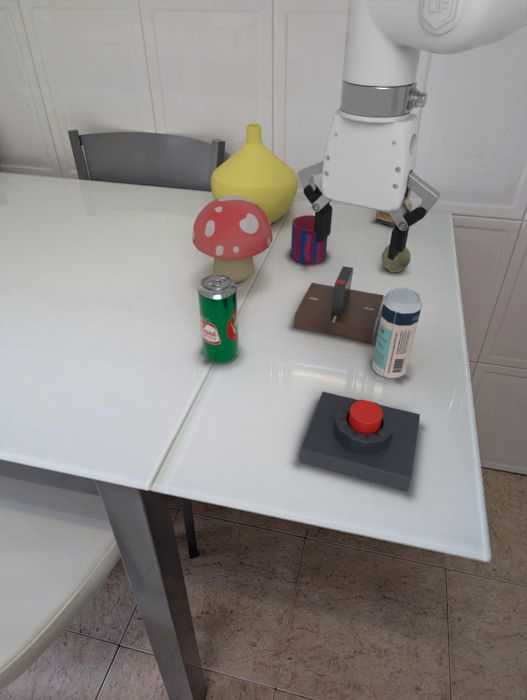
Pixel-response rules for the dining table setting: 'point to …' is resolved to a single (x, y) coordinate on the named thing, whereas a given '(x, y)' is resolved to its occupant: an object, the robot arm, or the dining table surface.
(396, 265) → the lime
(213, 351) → the soda can
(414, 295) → the beer can
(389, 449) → the button box
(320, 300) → the knob panel
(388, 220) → the ornament
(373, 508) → the dining table surface
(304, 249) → the cup
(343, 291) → the dark upright slab
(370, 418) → the button
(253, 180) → the vase
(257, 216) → the decorative mushroom
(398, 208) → the robot arm
